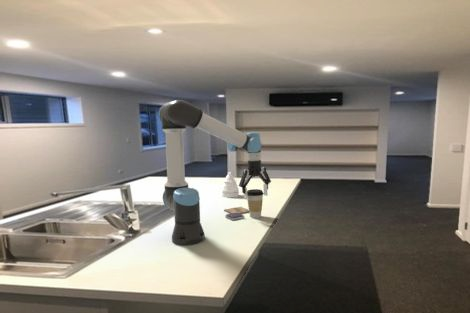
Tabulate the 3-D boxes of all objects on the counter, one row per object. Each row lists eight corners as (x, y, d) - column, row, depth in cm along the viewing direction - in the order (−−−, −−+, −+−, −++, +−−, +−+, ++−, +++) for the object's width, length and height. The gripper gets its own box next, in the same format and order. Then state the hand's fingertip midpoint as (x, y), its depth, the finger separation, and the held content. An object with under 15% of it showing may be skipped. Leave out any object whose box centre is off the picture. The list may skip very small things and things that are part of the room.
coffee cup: (265, 214, 186) (264, 189, 185) (262, 219, 177) (261, 192, 175) (249, 213, 189) (248, 188, 188) (245, 218, 180) (244, 192, 178)
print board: (233, 215, 187) (233, 213, 187) (224, 210, 197) (224, 209, 197) (250, 212, 193) (250, 210, 193) (240, 207, 203) (240, 206, 203)
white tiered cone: (238, 197, 234) (237, 173, 232) (221, 197, 234) (220, 173, 233) (238, 193, 247) (238, 170, 245) (222, 194, 247) (221, 171, 245)
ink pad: (232, 220, 176) (231, 217, 176) (225, 217, 183) (225, 214, 183) (244, 218, 180) (244, 215, 180) (237, 215, 187) (237, 212, 187)
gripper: (238, 162, 170) (240, 201, 173) (276, 158, 183) (277, 194, 185) (231, 161, 177) (233, 199, 179) (268, 157, 189) (269, 192, 191)
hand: (255, 197), depth 182 cm, fingers open, 13 cm apart
